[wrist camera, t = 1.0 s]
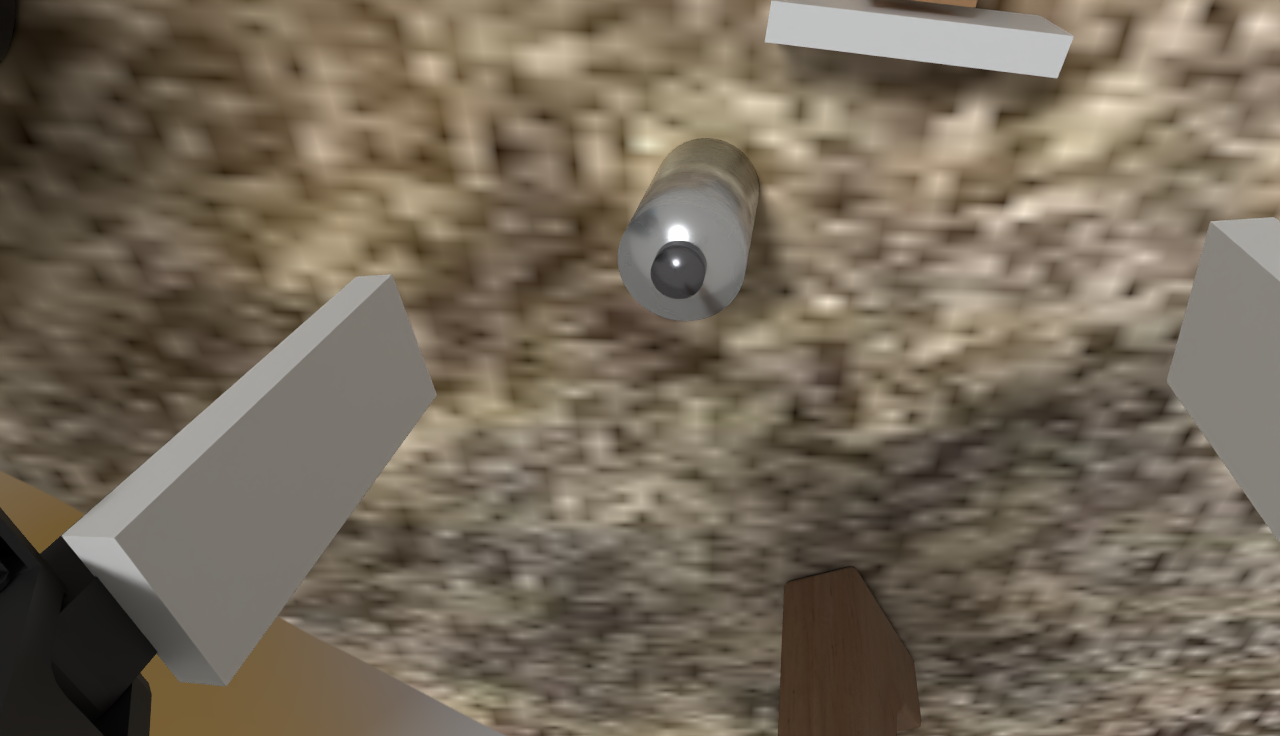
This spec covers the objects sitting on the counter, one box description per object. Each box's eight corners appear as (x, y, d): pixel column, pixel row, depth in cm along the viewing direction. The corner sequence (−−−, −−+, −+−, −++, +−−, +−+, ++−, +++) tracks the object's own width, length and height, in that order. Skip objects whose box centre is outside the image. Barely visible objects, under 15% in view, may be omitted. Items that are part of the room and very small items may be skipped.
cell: (650, 230, 32) (609, 320, 26) (660, 131, 30) (616, 202, 23) (749, 246, 32) (732, 341, 25) (767, 146, 29) (754, 223, 23)
